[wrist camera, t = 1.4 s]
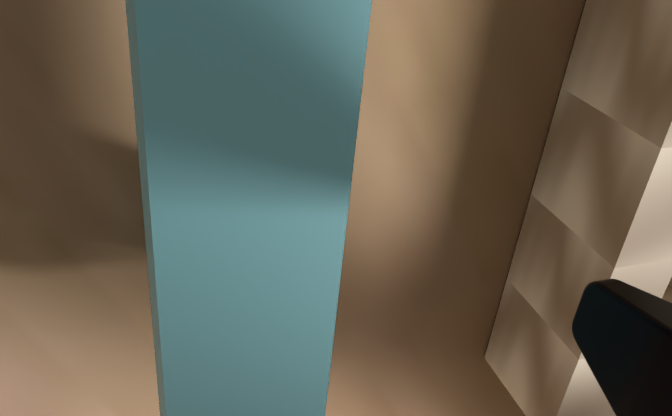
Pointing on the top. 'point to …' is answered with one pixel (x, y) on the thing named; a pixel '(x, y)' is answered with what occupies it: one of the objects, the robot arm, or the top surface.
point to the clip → (245, 194)
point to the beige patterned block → (591, 205)
